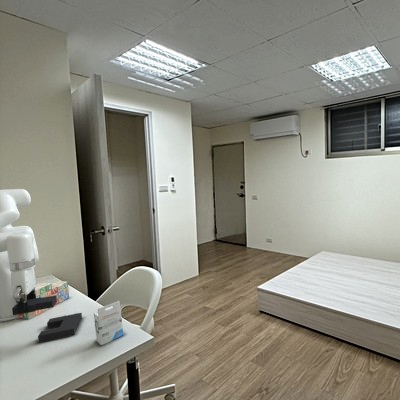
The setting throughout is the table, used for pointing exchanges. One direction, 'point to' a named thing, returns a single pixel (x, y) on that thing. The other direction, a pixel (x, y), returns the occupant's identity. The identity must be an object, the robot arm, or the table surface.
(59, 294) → the stack of blocks
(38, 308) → the pad
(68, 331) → the socket pad
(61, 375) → the table surface
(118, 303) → the ink box
